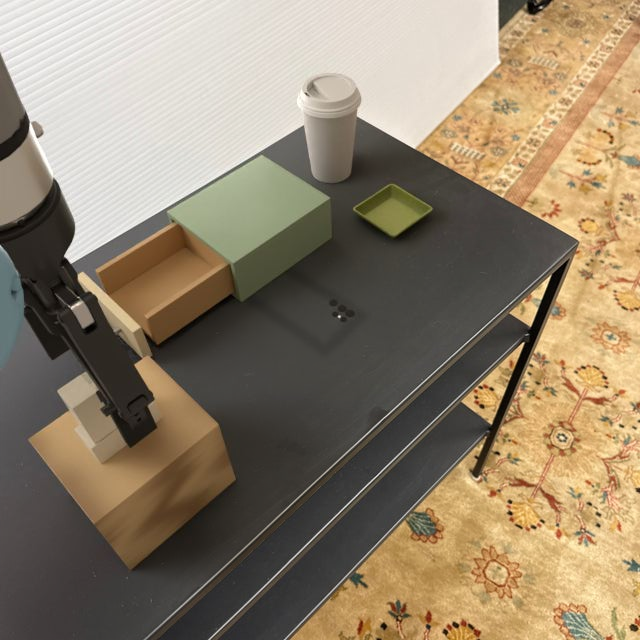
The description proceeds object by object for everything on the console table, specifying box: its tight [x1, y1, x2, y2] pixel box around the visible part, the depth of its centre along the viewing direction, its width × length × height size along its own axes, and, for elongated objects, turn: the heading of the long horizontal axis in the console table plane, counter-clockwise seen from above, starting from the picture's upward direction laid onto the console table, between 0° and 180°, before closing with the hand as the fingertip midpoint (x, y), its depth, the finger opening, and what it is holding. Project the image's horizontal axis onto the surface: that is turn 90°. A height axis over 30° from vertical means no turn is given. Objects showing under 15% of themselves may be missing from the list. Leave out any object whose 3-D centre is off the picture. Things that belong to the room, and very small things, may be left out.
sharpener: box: [56, 370, 162, 464], centre depth 59 cm, size 7×3×9 cm, turn 134°
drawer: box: [77, 222, 236, 360], centre depth 85 cm, size 21×13×6 cm, turn 134°
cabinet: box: [166, 154, 333, 303], centre depth 92 cm, size 18×15×8 cm
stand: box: [28, 356, 237, 571], centre depth 67 cm, size 14×12×12 cm
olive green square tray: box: [352, 183, 434, 239], centre depth 97 cm, size 9×9×2 cm
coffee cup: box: [296, 72, 363, 184], centre depth 100 cm, size 10×10×15 cm
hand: (100, 390), depth 57 cm, fingers open, 12 cm apart
